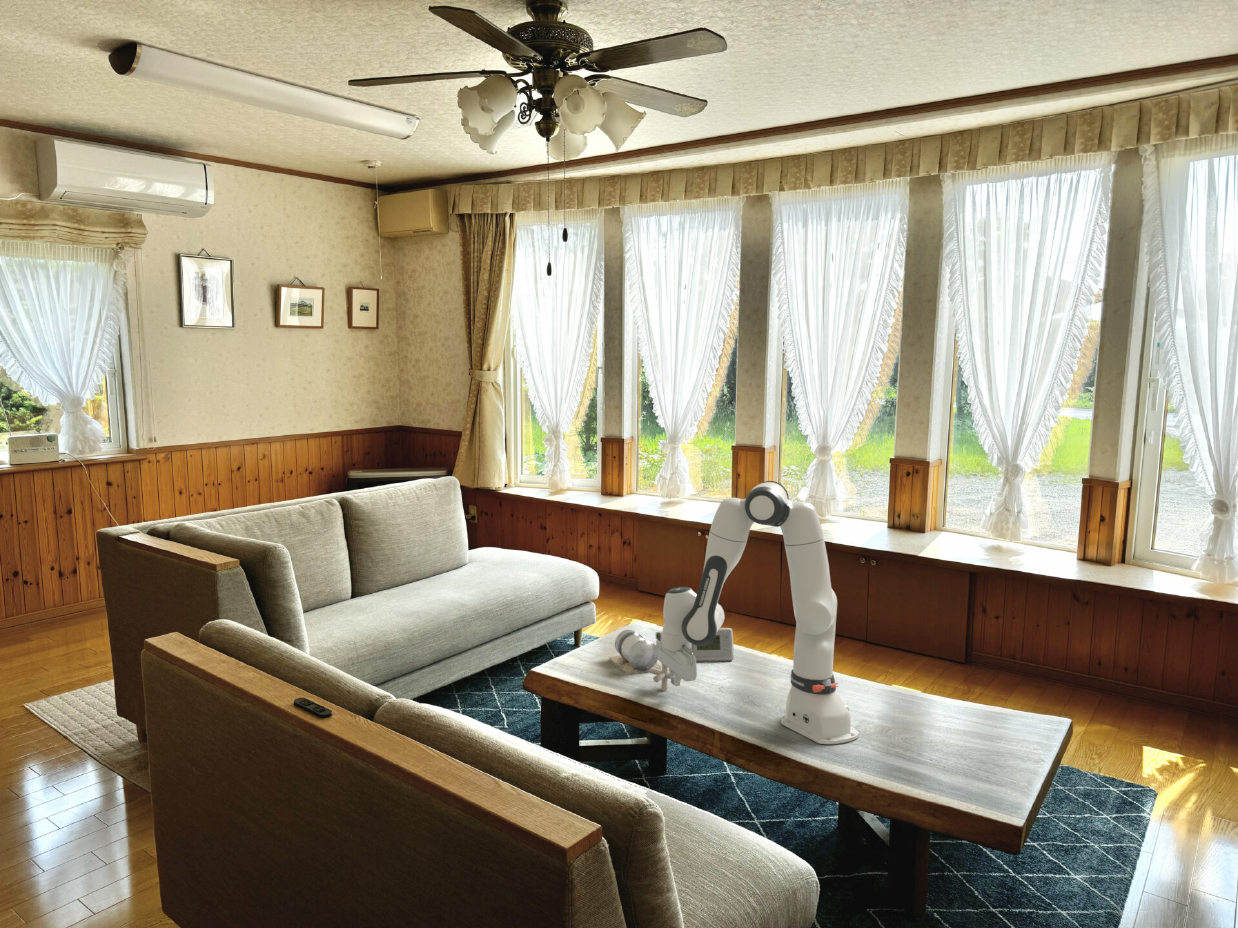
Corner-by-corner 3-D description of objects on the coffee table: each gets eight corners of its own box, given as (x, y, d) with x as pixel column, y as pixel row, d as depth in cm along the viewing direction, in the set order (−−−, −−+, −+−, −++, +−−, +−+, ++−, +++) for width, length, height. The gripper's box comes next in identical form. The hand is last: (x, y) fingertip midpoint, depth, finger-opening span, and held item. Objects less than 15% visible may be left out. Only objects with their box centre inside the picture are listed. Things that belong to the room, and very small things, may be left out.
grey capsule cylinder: (661, 669, 277) (662, 638, 275) (625, 674, 272) (626, 643, 270) (643, 655, 290) (644, 625, 288) (609, 659, 285) (609, 629, 283)
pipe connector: (668, 699, 253) (669, 667, 252) (641, 690, 259) (642, 659, 258) (686, 689, 261) (687, 658, 260) (660, 681, 267) (661, 650, 266)
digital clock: (686, 662, 284) (687, 632, 283) (686, 653, 293) (687, 623, 292) (734, 664, 283) (735, 634, 282) (732, 655, 292) (734, 626, 291)
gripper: (703, 650, 243) (701, 696, 244) (671, 628, 261) (669, 671, 263) (683, 653, 240) (681, 699, 242) (652, 630, 259) (651, 673, 261)
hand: (675, 684), depth 253 cm, fingers closed
